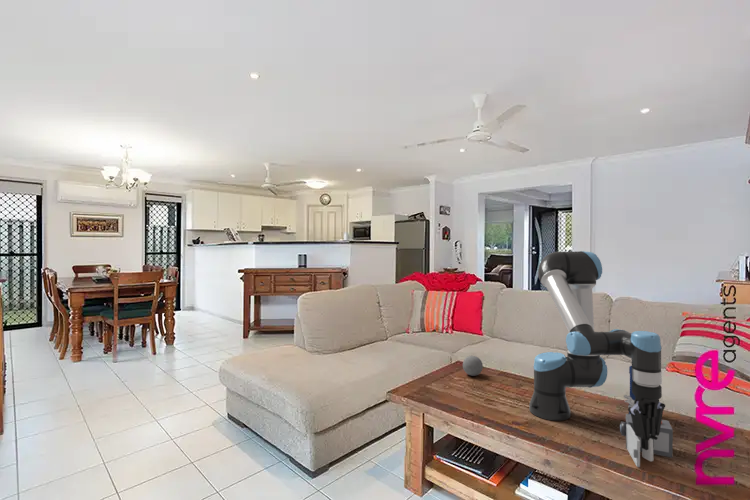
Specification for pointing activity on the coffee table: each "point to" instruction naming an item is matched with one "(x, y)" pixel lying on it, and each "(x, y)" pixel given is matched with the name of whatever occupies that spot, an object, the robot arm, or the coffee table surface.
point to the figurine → (629, 401)
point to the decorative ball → (472, 365)
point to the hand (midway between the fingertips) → (647, 458)
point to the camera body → (664, 440)
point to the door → (633, 444)
